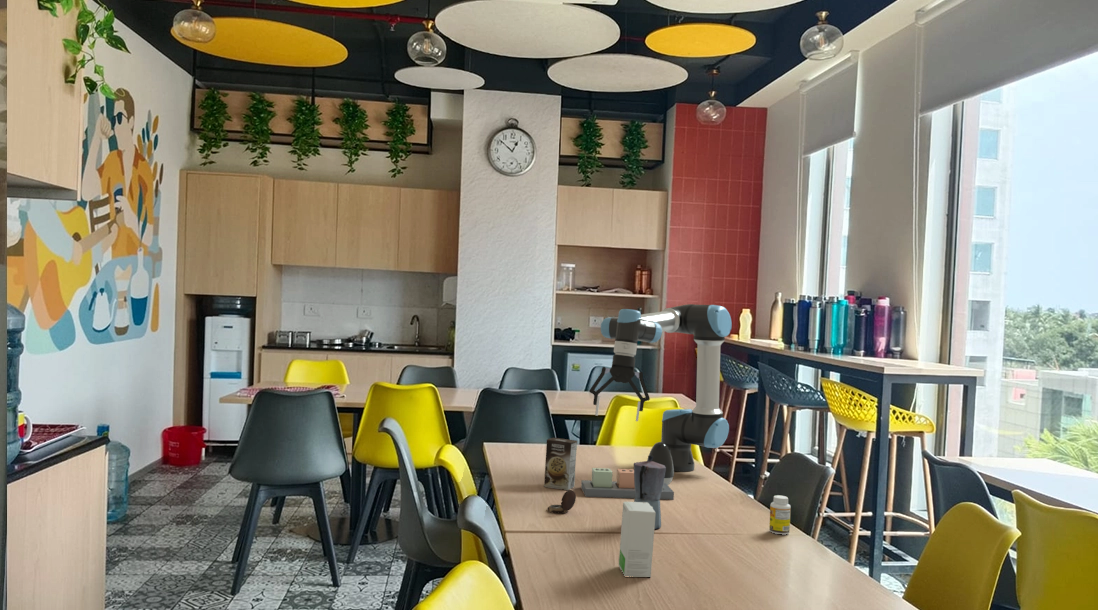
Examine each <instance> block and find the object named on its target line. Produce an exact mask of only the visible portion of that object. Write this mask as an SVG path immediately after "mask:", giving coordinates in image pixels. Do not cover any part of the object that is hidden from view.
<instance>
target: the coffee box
mask: <svg viewBox="0 0 1098 610" xmlns="http://www.w3.org/2000/svg"><path fill="white" fill-rule="evenodd" d="M577 446H578V441H577V440H575V439H567V438H566V439H565V438H559V437H551V438H548V439H546V445H545V447H546V449H545V465H544V482H543V487H545V488H549V489H550V488H551V489H558V490H562V489H564V490H563V491H567V490H569V489H570V490H572V489H573V487H574V488H575V481H576V480H575V479H576V465H577V464H576V462H577V448H578V447H577ZM571 488H572V489H571Z"/></svg>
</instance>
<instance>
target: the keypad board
mask: <svg viewBox="0 0 1098 610" xmlns="http://www.w3.org/2000/svg"><path fill="white" fill-rule="evenodd" d="M580 484H581V485H580V488H581V490H582V492H584V493H583V495H584V496H585V498H590V497H592V498H611V497H613V498H614V499H615V498H617V499H635V498H636V497H635V488H619V487H618V485H617V480H615V481H614V480H612V487H594V486H593V485H592V479H591V480H589V479H586V480H585V479H581V482H580ZM668 499H669V500H670V501H672V500H673V501H674V499H675V492H674V491H673V489H672V488H671V487H670V486H669V485H667V484H666V483H663V489H662V492H661V494H660V499H659V500H666V501H667V500H668Z"/></svg>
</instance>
